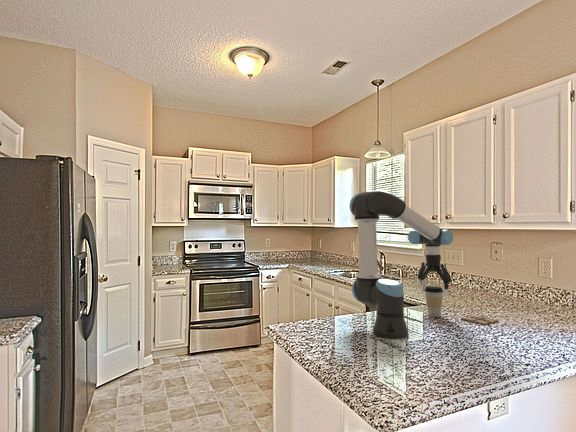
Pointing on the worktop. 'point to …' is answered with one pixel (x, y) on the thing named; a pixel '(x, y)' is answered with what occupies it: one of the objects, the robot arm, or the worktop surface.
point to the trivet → (480, 320)
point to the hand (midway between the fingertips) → (434, 293)
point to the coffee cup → (434, 300)
